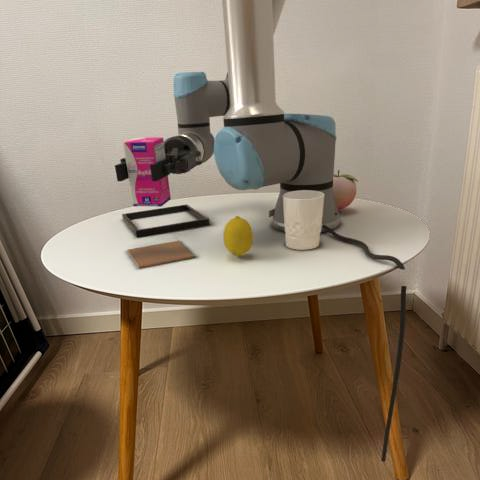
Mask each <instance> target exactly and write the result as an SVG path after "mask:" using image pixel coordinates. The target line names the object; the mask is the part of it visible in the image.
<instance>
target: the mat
mask: <svg viewBox="0 0 480 480" xmlns="http://www.w3.org/2000/svg"><path fill="white" fill-rule="evenodd" d="M127 253H128V254H129V255H130V257H131V259H132V260H133V261H134V263H135V264H136V267H137V268H138V269H143V268H149V267H153V266H154V267H155V266H158V265H164V264H168V263H174V262H180V261H184V260H189V259H195V258H196V255H195V254H193V253H192V252H191V250H189V249H188V248H187V247H186V246H185V245H184V244H182V242H181V241H180V240H175V241H168V242H162V243H157V244H150V245H146V246H140V247H136V248H130V249H127Z"/></svg>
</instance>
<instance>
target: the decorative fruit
mask: <svg viewBox="0 0 480 480" xmlns="http://www.w3.org/2000/svg"><path fill="white" fill-rule="evenodd" d="M356 182H357V183H359V181H358V179H357V178H356V177H355V176H353V175H351V174H340V169H338V170H337V174H336V173H334V176H333V193H334V197H335V200H336V204H337V208H338V212H339V211H342V210H345V208H347V207H349V206H350V205H351V204H352V203H353V202H354V200H355V199H356V196H357V184H356Z"/></svg>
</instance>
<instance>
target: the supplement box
mask: <svg viewBox="0 0 480 480" xmlns="http://www.w3.org/2000/svg"><path fill="white" fill-rule="evenodd" d="M164 141H165V140H164V137H162V136H161V137H159V136H157V137H133V138H130V139H128V140H126V141H123V142H122V145H123V146H122V147H123V151H124V158H126V164H127V170H128V176H129V178H128V181H129V187H130V194H131V195H130V196H131V200H132V206H133V207H159V208H162V207H163V206H164V205H165V204H167V203H168V202H170V201H171V191H170V190H171V189H170V181H169V175H168V176H166V177H164V178H162V179H160V180H158V181H152V176H151V169H150V165H151V164H154V163H156V162H159V161H161V160H163V159H166V157H165V149H164Z"/></svg>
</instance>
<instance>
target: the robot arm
mask: <svg viewBox="0 0 480 480" xmlns="http://www.w3.org/2000/svg"><path fill="white" fill-rule="evenodd" d="M285 3H286V0H221V4H222V17H223V19H222V20H223V29H224V31H223V32H224V43H225V44H224V45H225V55H226V56H225V57H226V68H227V69H226V70H227V72H226V76H225V78H224V80H223V79H222V80H208V78H207V74H206V72H204V71H183V72H176V73H175V74H174V76H173V78H172V79H173V85H172V86H173V98H174V105H175V113H176V120H177V133H178V134H176V135H174V136H171V137H168V138H166V139H165V140H164V149H165V157H166V159H163V160H161V161H159V162H156V163H154V164H151V165H150V169H151V176H152V181H158V180H160V179H162V178H164V177H166V176H168V177H169V175H171V174H172V175H183V174H186V173H189V172H190V171H191V170H192V169H194V168H196V167H198V166H201V165H202V164H204V163H206V162H207V161H209V160H210V159H211V158H212V156H213V155H214V160H215V164H216V167H217V170H218V172H219V174H220V175H221V177H222V178H223V179H224V181H225V182H226V184H227V185H229V186H230V187H231V188H233V189H235V190H238V191H248V190H259V189H261V188H265V187H269V186H274V185H279V194H278V197H277V200H276V202H275V206H274V208H272V209H270V210H269V211H268V218H272V219H271V220H272V227H273V228H274V229H276V230H278V231H281V232H285V227H284V210H283V194H285V193H287V192H291V191H299V190H312V191H319V192H322V193H324V204H323V217H322V226H321V232H320V233H324V232H328V233H329V234H331V236H332V237H334V238H336V239H338V240H340V241H343V242H347V243H351V244H355V245H357V246H360V247H361V248H363V250H364V253H365V255H366V256H367V257H369V258H370V259H373V260H378V261H390V262H392V263H394V264H395V265H396V266H397V267H398V269H399V270H406V267H405V266H404V264H403V263H402V262H401V260H400V259H399V258H397V257H395V256H394V255H388V254H387V255H386V254H375V253H373V252H371V250H370V249H369V246H368V245H367V244H366V243H365V242H364V241H362V240H359V239H355V238H351V237H347V236H345V235H344V236H343V235H341V234H339V233H337V232H336V231H334V230H335V229H337V228H338V227H339V225H340V219H341V217H340V212H339V211H338V208H337V204H336V200H335V197H334V193H333V176H334V174H335V158H336V157H335V156H336V142H337V134H336V126H337V125H336V121H335V119H334V118H333V117H332V116H329V115H320V114H306V113H285V111H284V110H283V109H282V108H281V107H280V106H279V105H278V103H277V99H276V98H277V97H276V73H275V72H276V71H275V70H276V69H275V47H274V45H275V43H274V35H275V33H276V30H277V27H278V23H279V21H280V18H281V15H282V12H283V10H284V6H285ZM217 117H222V119H223V120H222V121H223V127H222V128H221V129H220V130H219V131H217V133H216V135H215V137H214V135H213V133H212V132H211V121H210V118H217ZM119 161H120V163H118V164H115V165H114V169H115V174H116V180H117V182H123V181H126V180H129V176H128V170H127V164H126V158H125V157H122V158H120V159H119ZM406 306H407V286H406V285H401V288H400V313H399V314H400V317H399V332H398V344H397V351H396V352H397V353H396V360H395V367H394V375H393V382H392V387H391V394H390V400H389V406H388V412H387V419H386V423H385V431H384V437H383V444H382V451H381V462H382V463H385V462H386V460H387V459H386V458H387V452H388V444H389V437H390V432H391V427H392V421H393V414H394V409H395V408H394V407H395V402H396V397H397V396H396V395H397V390H398V384H399V379H400V371H401V365H402V358H403V350H404V342H405V331H406V330H405V329H406V312H407V307H406Z"/></svg>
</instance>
